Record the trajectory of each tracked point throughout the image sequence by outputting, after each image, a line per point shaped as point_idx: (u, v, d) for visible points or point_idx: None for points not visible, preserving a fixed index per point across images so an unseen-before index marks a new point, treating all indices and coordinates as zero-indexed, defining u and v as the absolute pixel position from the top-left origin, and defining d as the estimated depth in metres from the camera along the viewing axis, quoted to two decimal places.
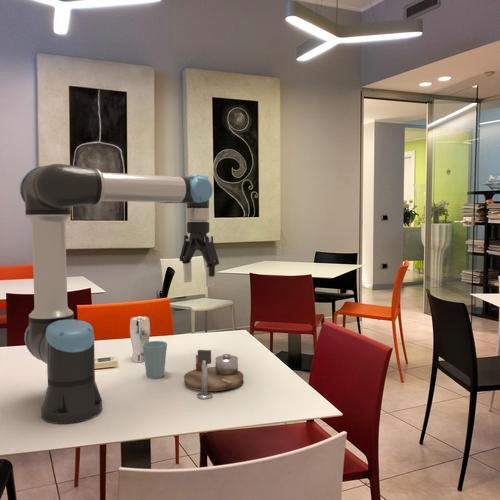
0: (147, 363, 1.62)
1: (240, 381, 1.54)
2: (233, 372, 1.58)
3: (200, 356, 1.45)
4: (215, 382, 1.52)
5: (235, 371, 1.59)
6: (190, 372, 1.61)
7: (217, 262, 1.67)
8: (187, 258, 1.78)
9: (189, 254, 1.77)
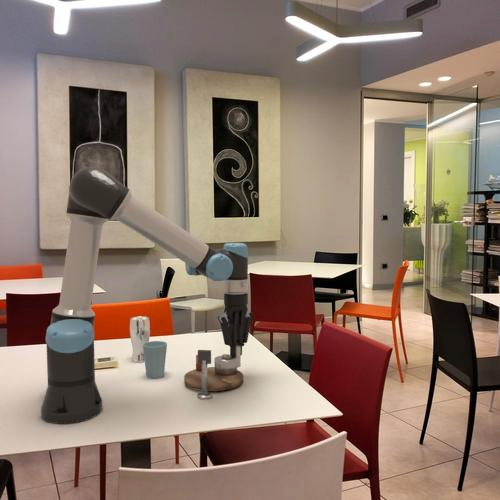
0: (147, 363, 1.62)
1: (240, 381, 1.54)
2: (232, 372, 1.58)
3: (200, 356, 1.45)
4: (215, 382, 1.52)
5: (234, 371, 1.59)
6: (190, 372, 1.61)
7: (228, 344, 1.60)
8: (236, 336, 1.64)
9: (236, 330, 1.64)
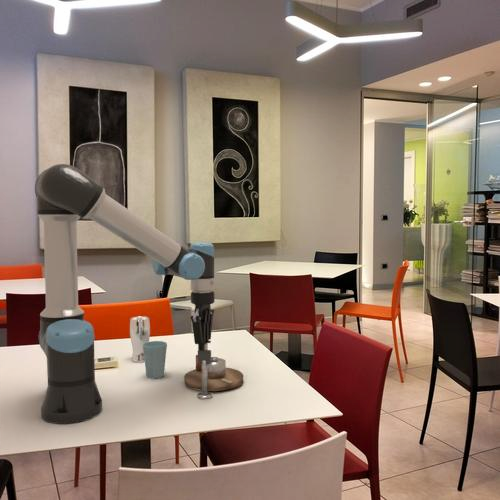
0: (147, 363, 1.62)
1: (240, 381, 1.54)
2: (221, 376, 1.55)
3: (200, 356, 1.45)
4: (215, 382, 1.52)
5: (222, 374, 1.56)
6: (190, 372, 1.61)
7: (200, 343, 1.62)
8: None
9: None
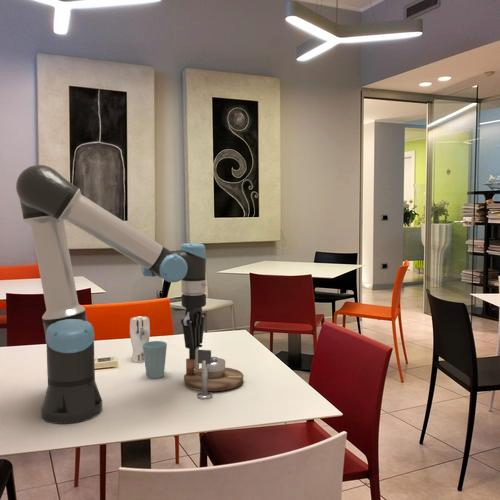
0: (147, 363, 1.62)
1: None
2: None
3: (200, 356, 1.45)
4: (228, 379, 1.54)
5: None
6: (187, 378, 1.56)
7: (190, 347, 1.57)
8: None
9: None
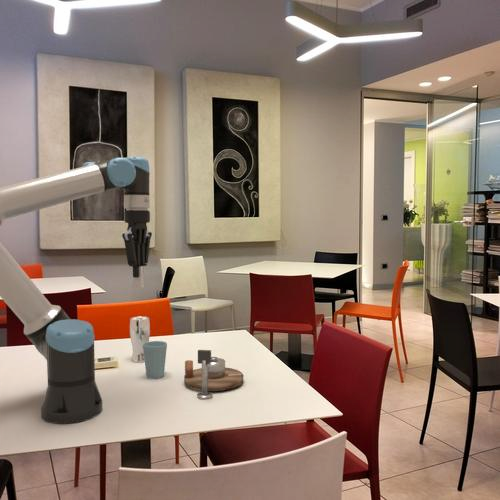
0: (147, 363, 1.62)
1: None
2: None
3: (200, 356, 1.45)
4: (231, 378, 1.55)
5: None
6: (189, 380, 1.53)
7: (133, 263, 1.52)
8: None
9: None
